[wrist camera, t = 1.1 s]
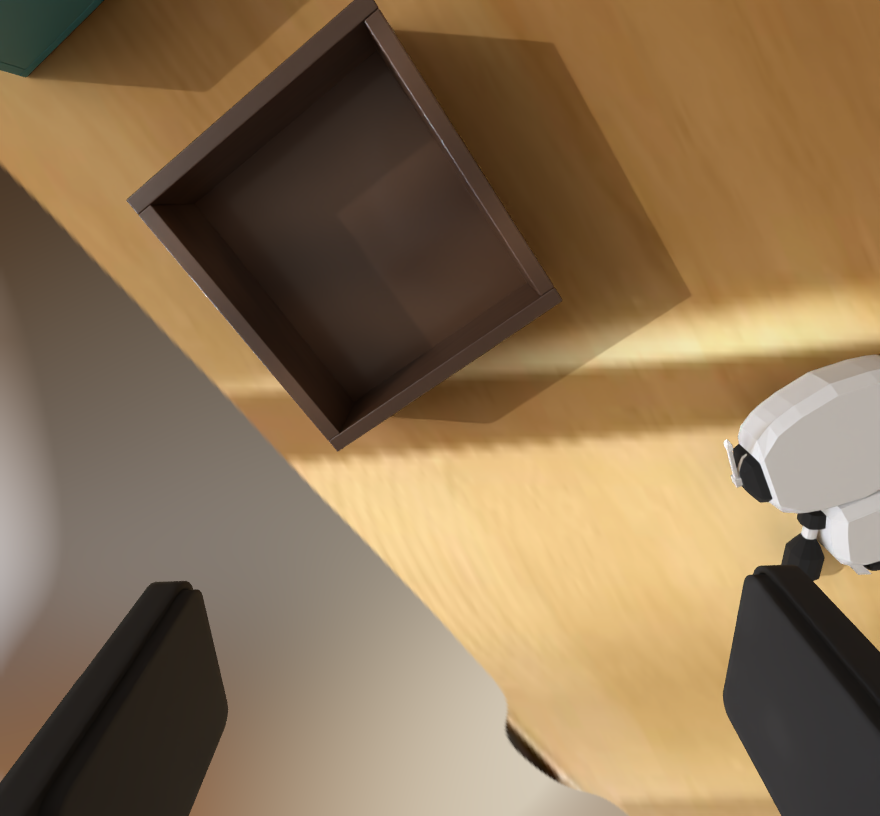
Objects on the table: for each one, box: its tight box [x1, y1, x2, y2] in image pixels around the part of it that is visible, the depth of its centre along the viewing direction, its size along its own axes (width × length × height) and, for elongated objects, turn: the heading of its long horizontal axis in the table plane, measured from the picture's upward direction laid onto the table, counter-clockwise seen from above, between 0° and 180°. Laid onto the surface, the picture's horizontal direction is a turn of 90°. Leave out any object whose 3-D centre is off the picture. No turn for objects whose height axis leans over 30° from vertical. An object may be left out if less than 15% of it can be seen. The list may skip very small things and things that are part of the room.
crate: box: [127, 0, 562, 451], centre depth 29 cm, size 16×14×6 cm
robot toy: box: [724, 355, 880, 581], centre depth 35 cm, size 12×4×15 cm
